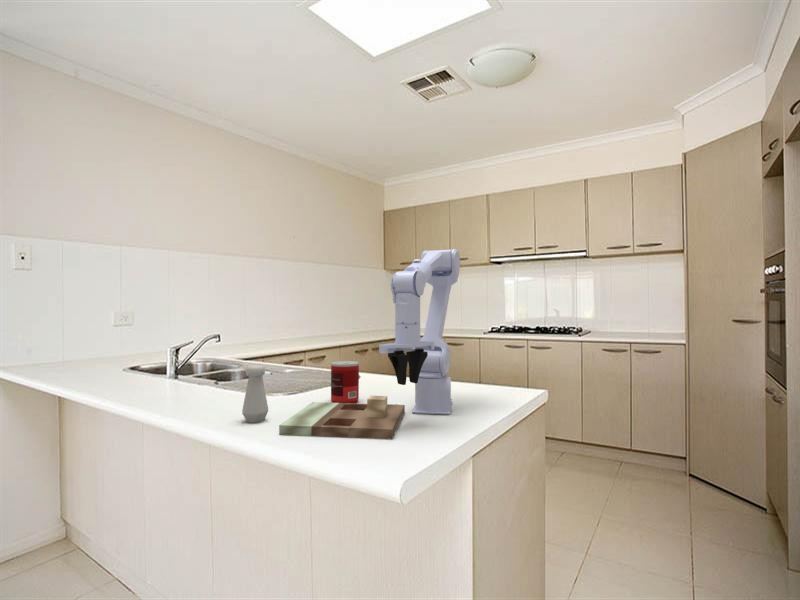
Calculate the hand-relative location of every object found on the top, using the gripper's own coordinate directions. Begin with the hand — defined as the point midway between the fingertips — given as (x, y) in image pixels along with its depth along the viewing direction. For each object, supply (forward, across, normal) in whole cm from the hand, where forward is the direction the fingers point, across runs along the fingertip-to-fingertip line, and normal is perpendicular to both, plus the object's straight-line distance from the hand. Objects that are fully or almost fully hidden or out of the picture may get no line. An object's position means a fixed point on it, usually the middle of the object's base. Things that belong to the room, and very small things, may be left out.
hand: (407, 383), depth 102 cm
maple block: (+7, +5, -5) cm, 10 cm away
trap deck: (+9, +10, -10) cm, 17 cm away
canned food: (+10, 0, -29) cm, 31 cm away
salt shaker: (+10, +27, -24) cm, 37 cm away
